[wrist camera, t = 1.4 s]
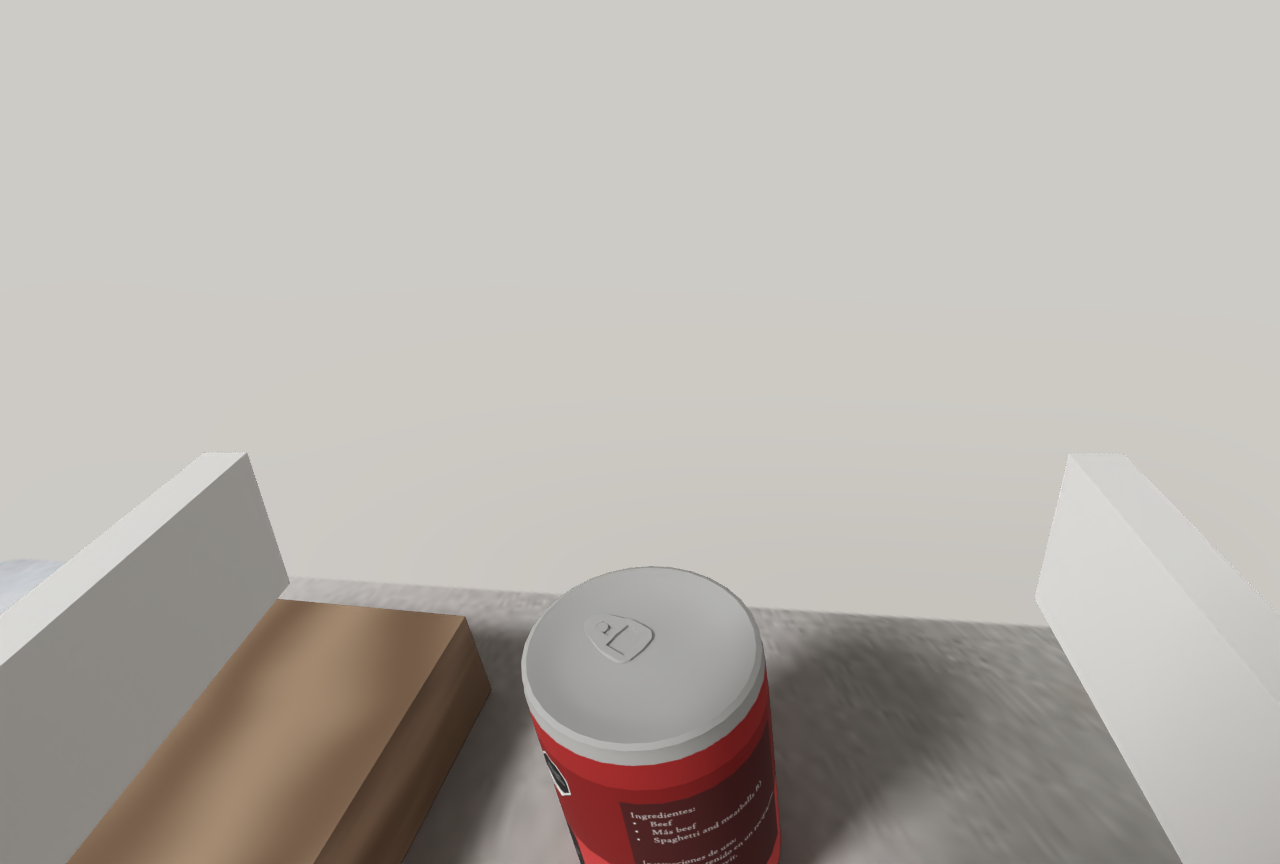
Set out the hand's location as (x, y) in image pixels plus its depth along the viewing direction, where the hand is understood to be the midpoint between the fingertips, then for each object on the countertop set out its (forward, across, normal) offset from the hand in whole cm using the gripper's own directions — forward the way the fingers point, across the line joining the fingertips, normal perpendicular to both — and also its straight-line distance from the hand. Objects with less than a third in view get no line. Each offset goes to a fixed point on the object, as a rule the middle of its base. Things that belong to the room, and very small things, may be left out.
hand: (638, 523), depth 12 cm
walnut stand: (+10, -19, -22) cm, 31 cm away
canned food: (+9, 0, -21) cm, 23 cm away
